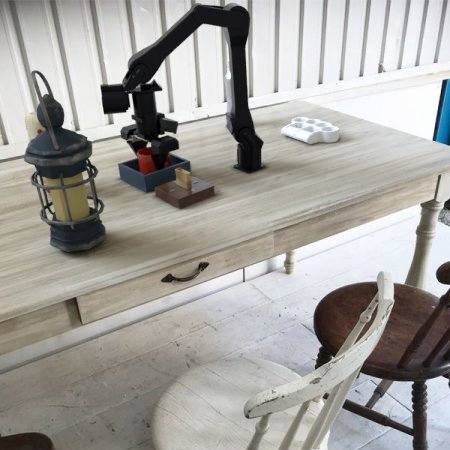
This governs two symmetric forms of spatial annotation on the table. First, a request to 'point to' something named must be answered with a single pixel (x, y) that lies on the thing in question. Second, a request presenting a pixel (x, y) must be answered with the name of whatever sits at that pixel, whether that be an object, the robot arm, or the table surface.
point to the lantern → (64, 177)
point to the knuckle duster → (311, 130)
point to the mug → (148, 161)
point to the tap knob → (183, 178)
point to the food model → (34, 132)
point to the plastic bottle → (228, 90)
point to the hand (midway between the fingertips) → (152, 170)
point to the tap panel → (184, 192)
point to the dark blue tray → (148, 182)
